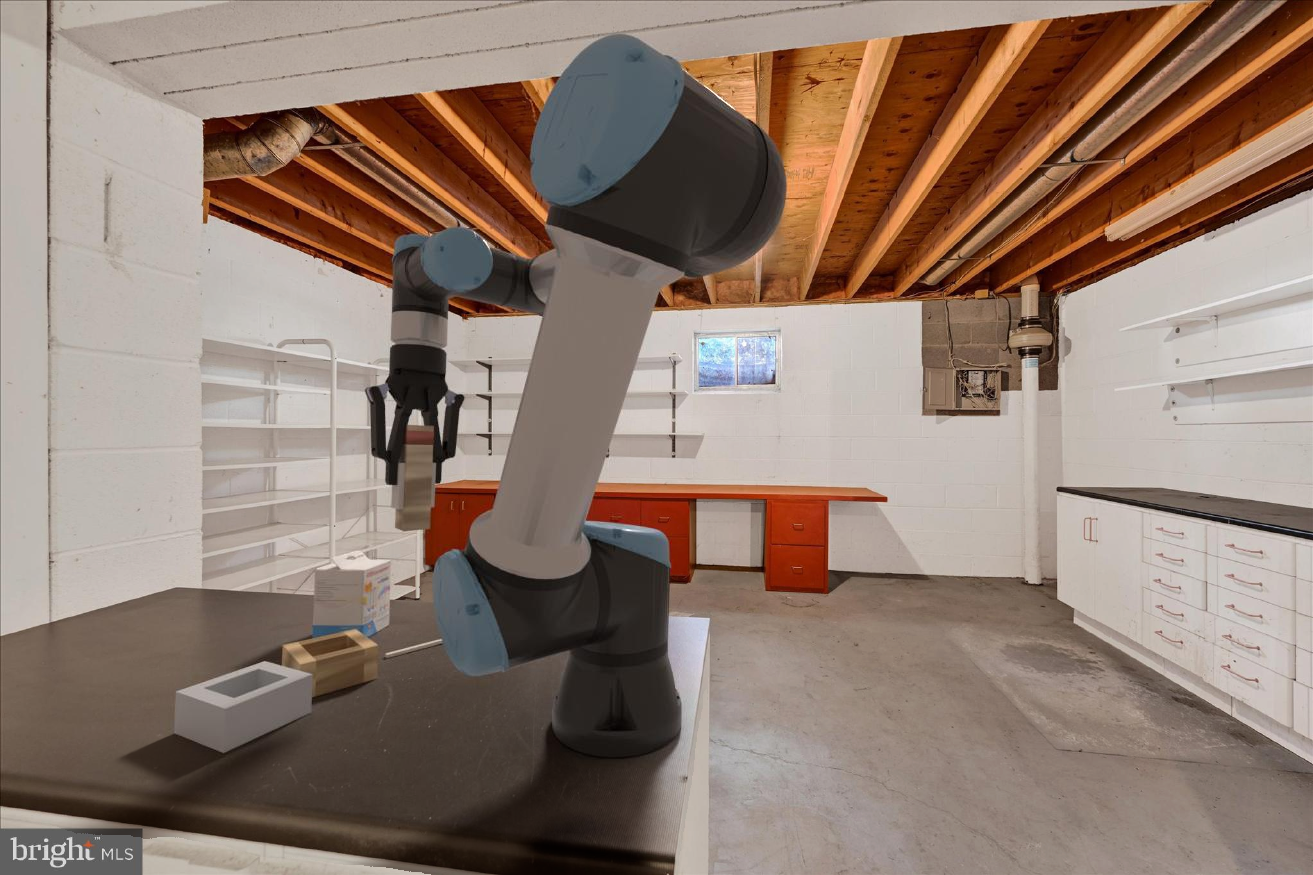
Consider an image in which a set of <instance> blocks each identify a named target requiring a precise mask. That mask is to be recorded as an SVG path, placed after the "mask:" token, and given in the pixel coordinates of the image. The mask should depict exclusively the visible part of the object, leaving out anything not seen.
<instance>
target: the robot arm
mask: <svg viewBox="0 0 1313 875" xmlns="http://www.w3.org/2000/svg"><path fill="white" fill-rule="evenodd" d="M533 132H534V133H533V138H532V141H531V147H530V155H529V160H530V163H531V164H532V165H531V168H530V172H529V174H530V176H531V181H532V184H533V186H534V188H535V190H536V191H537V193H538V194H539V195H540V196H541V197H542V198H543V200H544V201H546V202H547V203H548V204H549V208H548V213H547V216H546V222H545V226H544V229H545V231H546V233H547V235H548V237H549V239H550V241H551V243H552V245H553V247H554V248H552V249H551V250H549V251H546V252H543V253H542V254H539V255H537V256H535V257H533V258H528V257H525V256H521V255H518V254H515V253H510V252H507V251H503V250H501V249H497V248H494V247H491V246H489V245H488V243H487V241H485V239H483V238H482V237H481V236H480V235H479V234H478V233H476V232H475V231H474V230H472V229H470V228H467V227H464V226H450V227H447V228H446V229H445V228H444V230H441V231H439V232H436V233H433V234H432V235H425V234H419V233H410V234H408V235H407V234H403V235H400V236H399V237H398V238H396V240H395V242H394V251H393V256H392V257H391V258H392V259H391V262H392V286H391V288H392V292H391V294H392V295H391V323H390V324H391V325H390V341H391V343H394V344H391V346H390V348H389V364H388V365H389V367H388V369H389V371H388V372H389V374H388V376H387V378H386V380H385V382H384V383H382V384H378V385H373V386H368V387H366V388H365V389H364V392H365V395H366V398H367V400H368V403H369V413H370V414H369V416H370V452H371V456H372V457H373V458H377V459H380V460H382V461H384V462H385V475H384V476H385V477H384V482H385V484H386V485H388V486H391V504H390V506H391V507H390V508H392V509H395V510H396V509H404V483H405V463H401V462H398V461H399V460H400V456H401V451H402V447H403V443H404V439H405V434H406V425H409V421H410V417H411V416H412V414H413V410H416V411H419V412H420V416H421V418H422V420H423V426H434V445H433V460H432V487H431V508H435V499H436V498H435V496H436V485H437V484H441V482H442V473H443V472H442V471H443V469H442V468H443V463H444V462H445V461H446V460H449V459H453V458H455V457H456V451H457V441H458V440H457V439H458V433H459V432H458V431H459V423H460V422H459V420H460V410H461V407H462V406H463V403H464V401H465V398H466V397H465V395H463V393H456V392H454V391H452V390H450V389H449V386H448V383H447V381H446V376H447V354H448V353H447V352H446V350H445V349H444V348H446V347H447V346H448V328H449V326H448V324H449V323H448V321H449V305H450V304H449V303H450V302H449V301H450V300H449V299H452V298H454V297H457V298H463V299H465V300H466V299H467V300H471V301H475V302H480V303H484V304H488V305H493V306H499V307H504V308H508V309H513V310H517V311H521V312H525V313H529V314H534V315H536V316H539V317H541V320H540V324H539V329H538V333H537V337H536V340H535V344H534V347H533V352H532V356H531V360H530V363H529V366H528V371H527V376H526V380H525V384H524V388H523V391H522V395H521V399H520V402H519V405H518V410H517V413H516V418H515V422H514V426H513V430H512V433H511V436H510V441H509V444H508V448H507V453H506V457H505V460H504V464H503V468H502V473H501V475H500V479H499V484H498V487H497V491H496V495H495V499H494V503H493V506H492V509H489V510H487V511H485V512H483V513H482V514H480V515H479V516H478V517H476V518H475V519H474V520H473V521H472V523H471V526H470V529H469V534H468V537H467V540H466V545H465V547H464V548H463V549H455V548H452V549H451V550H450V551H446V552H444V553H443V554H442V555H440V556H439V557H438V559H436V562H435V565H434V567H433V568H434V569H433V575H432V600H433V608H434V616H435V621H436V625H437V629H438V633H439V635H440V639H442V642H443V643H442V644H443V647H444V649H445V652H446V654H447V656H448V657H449V660H450V661H451V663H452V665H453V666H454V667H455V668H456V669H457V670H458V671H459V672H460V673H462V674H464V675H466V676H469V677H470V676H471V677H480V676H486V675H490V674H495V673H499V672H501V673H505V672H508V671H509V670H512V669H514V668H517V667H521V666H523V665H527V664H530V663H533V662H536V661H539V660H542V659H546V658H550V657H553V656H556V655H560V654H561V653H564V652H565V653H566V652H568V651H569V652H568V659H567V662H566V664H565V668H564V670H563V671H564V672H563V675H562V678H561V682H560V685H559V689H558V691H557V693H556V695H555V698H554V699H553V703H552V713H551V714H552V715H551V716H552V719H551V720H552V722H551V727H552V731H553V734H554V735H555V737H556V738H557V740H559V741H560V742H561V743H562V744H563V745H564V746H566V747H568V748H570V749H571V750H574V751H576V752H579V753H582V754H585V755H589V756H594V757H595V756H596V757H602V758H603V757H604V758H627V757H634V756H639V755H643V754H644V755H645V754H648V753H650V752H653V751H656V750H658V749H660V748H662V747H664V746H666V745H667V744H669V743H671V741H673V740H674V739H675V738H676V737H677V735H678V734H679V733H680V730H681V728H682V719H683V718H682V711H683V710H682V709H683V705H682V699H681V698H682V697H681V696H680V695H681V694H680V693H679V691H678V690H677V687H676V682H675V679H674V678H675V677H674V674H673V673H674V672H673V669H672V665H671V661H670V658H669V622H670V620H669V618H670V617H669V616H670V614H669V613H670V587H671V585H670V582H671V568H672V563H671V562H670V542H669V539H668V537H667V536H666V535H665V533H664V532H662V531H661V530H658V529H656V528H651V527H647V526H641V525H633V524H627V523H626V524H625V523H618V522H617V523H615V522H610V521H609V522H608V521H595V520H586V519H587V517H588V514H589V511H590V508H591V505H592V501H593V498H594V495H595V492H596V490H597V486H598V482H599V480H600V476H601V474H602V470H603V467H604V465H605V460H606V458H607V455H608V451H609V449H610V445H611V442H612V440H613V436H614V433H615V430H616V427H617V424H618V421H619V417H620V414H621V411H622V408H623V405H624V402H625V398H626V395H627V393H628V390H629V386H630V383H631V380H632V376H633V374H634V371H635V368H636V365H637V361H638V359H639V355H640V352H641V349H642V346H643V344H644V340H645V336H646V334H647V331H648V328H649V325H650V321H651V318H652V315H653V312H654V309H655V306H656V303H657V299H658V296H659V293H660V292H661V291H662V290H663V289H664V288H666V287H668V286H670V285H671V284H674V283H675V282H676V281H678V280H680V279H682V278H687V279H698V278H702V277H705V276H710V275H714V274H717V273H720V272H723V271H727V270H729V269H733V268H735V267H737V266H739V265H741V264H743V263H745V262H746V261H749V260H750V259H751V258H753V257H754V256H756V255H757V253H759V252H760V251H761V250H762V249H763V248H764V247H765V245H767V243H768V242H769V241H770V239H771V238H772V237H773V235H774V234H775V232H776V230H777V228H778V226H779V224H780V221H781V218H782V216H783V214H784V213H783V212H784V209H785V206H786V200H787V199H786V197H787V189H788V188H787V186H788V184H787V177H786V171H785V167H784V161H783V158H782V155H781V153H780V152H779V150H778V147H777V146H776V144H775V142H774V141H773V140H772V138H771V136H770V135H769V134H768V133H767V132H766V131H765V130H764V129H763V128H762V127H761V126H760V125H758V124H756V122H754V121H753V120H751V119H750V118H748V117H746V116H745V115H744V114H742V113H741V112H739V111H738V110H736V109H735V107H733V106H731V105H730V104H729V103H727V102H726V100H724V99H722V98H721V97H720V96H718V94H716V93H715V92H714V91H712V90H711V89H709V88H708V87H707V86H706V85H705V84H703V83H702V82H700V81H699V80H698V79H697V78H695V77H694V76H693V75H691V73H688V71H687V70H685V69H683V67H682V64H681V63H680V62H679V61H678V60H677V59H676V58H674V57H673V56H670V55H666V54H662V53H661V52H659V51H658V50H656V49H654V48H653V47H652V46H650V45H648V44H647V43H645V42H644V41H643V40H641V39H639V38H637V37H635V36H633V35H631V34H625V33H616V34H610V35H606V36H604V37H601V38H599V39H597V40H595V41H593V42H592V43H590V44H589V45H587V46H586V47H585V48H583V50H581V51H580V52H579V53H578V54H577V55H576V56H575V58H573V59H572V61H571V63H569V65H568V66H567V67H566V68H565V69H564V71H563V72H562V73H561V74H560V76H559V78H558V79H557V81H556V83H555V84H554V85H553V87H552V89H551V91H550V93H549V95H548V96H547V98H546V100H545V102H544V104H543V107H542V108H541V112H540V115H539V117H538V120H537V123H536V126H535V129H534V131H533ZM388 393H389V395H390V396H391V397H392V398H393V400H394V402H395V403H396V404H395V408H394V418H393V421H392V426H391V430H390V434H389V439H388V443H387V433H386V432H387V431H386V430H387V428H386V427H387V425H386V422H387V421H386V402H385V400H387V397H388ZM443 398H444V404H445V405H446V406H445V410H444V417H443V429H442V439H441V432H440V424H439V418H438V417H439V408H438V404H439V403H440V402H441V400H442V399H443Z"/></svg>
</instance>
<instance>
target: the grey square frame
mask: <svg viewBox="0 0 1313 875" xmlns="http://www.w3.org/2000/svg"><path fill="white" fill-rule="evenodd" d="M312 678H313V674H310V673H306V672H302V671H299V670H295V669H292V668H288V667H284V666H282V664H281V665H280V664H277V663H274V662H270V661H265V660H264V661H261V662H259V663H258V662H257V663H256V664H255V663H254V664H252V665H250V666H247V667H244V668H240V669H238V670H235V671H233V672H229V673H227V674H224V675H220V676H218V677H215V678H212V679H208V680H206V681H203V682H200V683H197V684H194V685H191V686H188V687H186V688H185V687H184V688H183V689H179V690H177V691H175V703H174V704H175V705H174V727H173V728H174V730H173V733H174V734H175V735H178V736H180V737H183V738H185V739H187V740H189V741H190V740H191V741H193V742H196V743H197V744H200V745H202V746H205V747H207V748H210V749H213V750H216V751H217V752H220V753H222V754H224V753H227V752H229V751H231V750H233V749H235V748H238V747H240V746H242V745H244V744H247V743H249V742H250V741H253V740H255V739H257V738H259V737H262V736H264V735H265V734H268V733H270V732H272V731H274V730H277V729H279V728H281V727H283V726H285V725H288V724H290V723H292V722H294V721H296V720H298V719H300V718H302V717H305V716H307V715H308V714H309V715H310V714H311V713H312V700H313V699H312V698H313V697H312Z"/></svg>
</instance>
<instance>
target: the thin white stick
mask: <svg viewBox="0 0 1313 875" xmlns="http://www.w3.org/2000/svg"><path fill="white" fill-rule="evenodd" d="M440 644H443V642H442V639H441V638H440V639H435V640H432V641H428V642H424V643H420V644H417V645H413V646H408V647H405V648H402V649H397V650H394V651H390V652H386V653H385V654H384V657H385V659H390V658H393V657H397V656H402V655H404V654H407V653H410V652H411V653H412V652H416V651H418V650H424V649H428V648H430V647H433V646H438V645H440Z"/></svg>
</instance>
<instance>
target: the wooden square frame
mask: <svg viewBox="0 0 1313 875" xmlns="http://www.w3.org/2000/svg"><path fill="white" fill-rule="evenodd" d="M281 653H282V655H281V666H284V667H288V668H292V669H295V670H299V671H302V672H306V673H310V674H313V678H312V698H314V697H318V696H321V695H325V694H328V693H332V692H335V691H336V692H337V691H339V690H342V689H346V688H349V687H353V686H356V685H359V684H362V683H363V684H364V683H367V682H370V681H372V680H373V681H374V680H376V679H378V662H379V645H378V643H376V642H375V641H373V640H372V639H370V637H369V638H367V637H366V636H365V635H363V634H362V633H360V632H359V631H358V630H356V629H354V630H349V631H345V632H340V633H335V634H331V635H326V636H322V637H317V638H313V639H312V638H309V639H304V640H301V641H299V640H298V641H295V642H290V643H286V644H282V652H281Z"/></svg>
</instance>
